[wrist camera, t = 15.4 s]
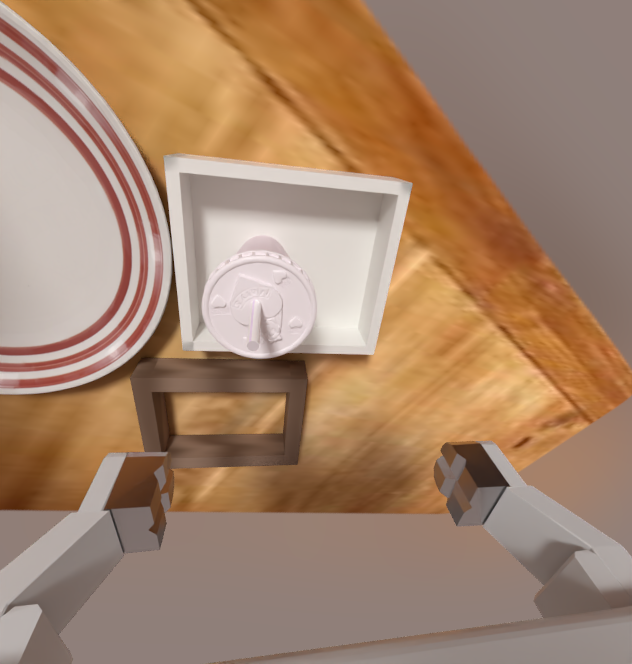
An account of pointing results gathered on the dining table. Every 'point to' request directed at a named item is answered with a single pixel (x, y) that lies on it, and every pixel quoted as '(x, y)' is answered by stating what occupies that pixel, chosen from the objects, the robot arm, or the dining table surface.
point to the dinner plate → (71, 224)
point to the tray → (288, 239)
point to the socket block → (219, 377)
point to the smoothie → (259, 301)
